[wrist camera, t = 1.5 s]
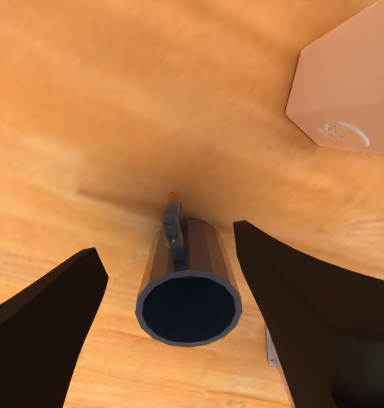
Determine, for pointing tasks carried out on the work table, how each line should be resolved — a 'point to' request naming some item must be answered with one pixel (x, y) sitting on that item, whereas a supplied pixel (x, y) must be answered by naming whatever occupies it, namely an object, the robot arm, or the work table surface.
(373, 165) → the work table surface
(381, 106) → the jar
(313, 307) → the robot arm
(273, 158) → the work table surface
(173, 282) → the mug
